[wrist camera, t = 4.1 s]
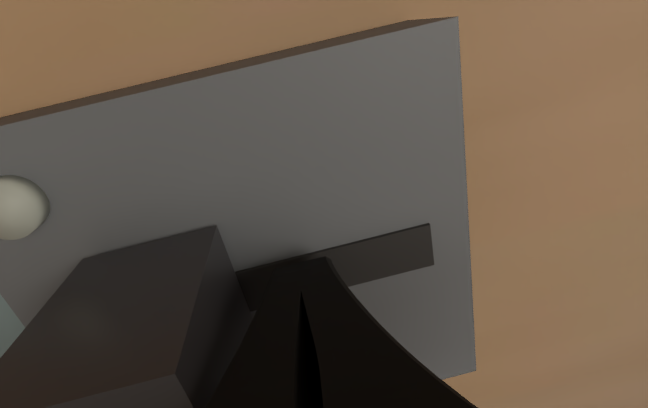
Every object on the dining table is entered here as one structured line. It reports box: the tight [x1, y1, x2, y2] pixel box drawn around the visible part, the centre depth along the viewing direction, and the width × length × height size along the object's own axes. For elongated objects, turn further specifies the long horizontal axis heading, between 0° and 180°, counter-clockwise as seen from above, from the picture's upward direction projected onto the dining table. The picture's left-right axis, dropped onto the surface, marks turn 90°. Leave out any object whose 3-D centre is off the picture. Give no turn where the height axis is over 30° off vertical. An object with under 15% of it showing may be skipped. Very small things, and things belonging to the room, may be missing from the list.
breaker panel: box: [0, 17, 476, 380], centre depth 11 cm, size 10×11×4 cm
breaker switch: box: [0, 225, 253, 408], centre depth 7 cm, size 4×3×4 cm
